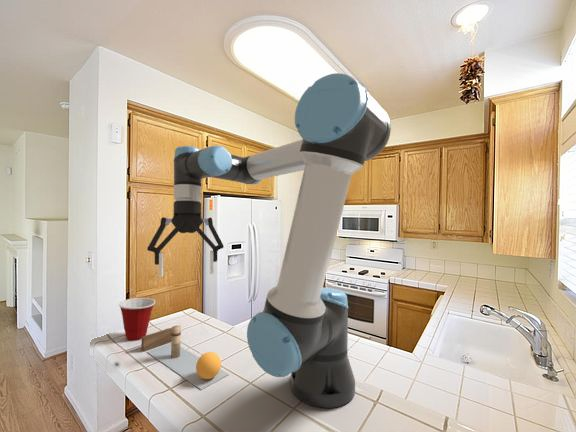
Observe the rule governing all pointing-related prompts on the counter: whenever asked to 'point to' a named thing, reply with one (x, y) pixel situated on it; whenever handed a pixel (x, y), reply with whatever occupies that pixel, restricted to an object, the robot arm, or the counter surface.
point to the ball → (208, 365)
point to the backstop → (156, 339)
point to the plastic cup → (136, 317)
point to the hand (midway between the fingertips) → (187, 274)
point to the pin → (175, 341)
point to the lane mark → (185, 365)
